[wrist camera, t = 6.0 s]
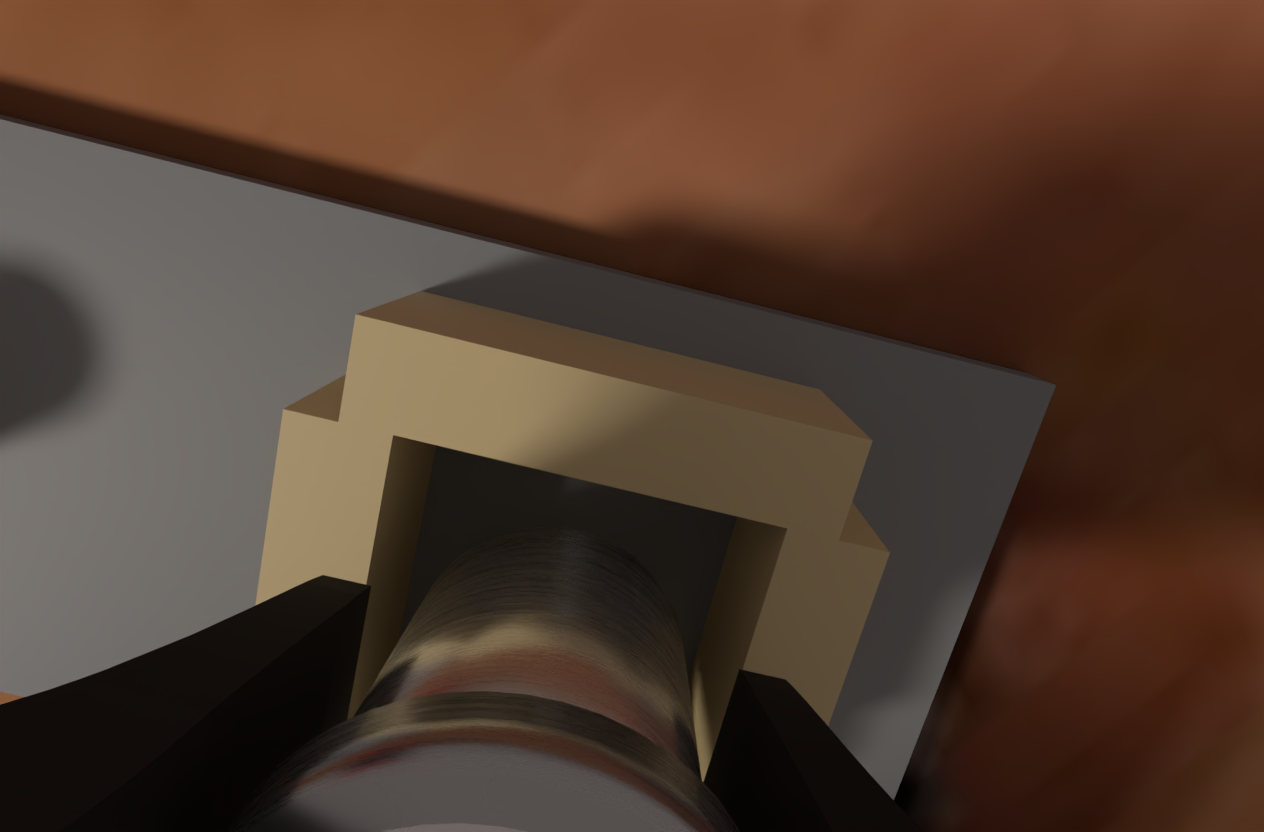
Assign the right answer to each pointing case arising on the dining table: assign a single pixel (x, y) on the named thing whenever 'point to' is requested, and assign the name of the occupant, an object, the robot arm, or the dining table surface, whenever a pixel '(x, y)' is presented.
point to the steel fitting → (514, 709)
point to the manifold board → (462, 438)
